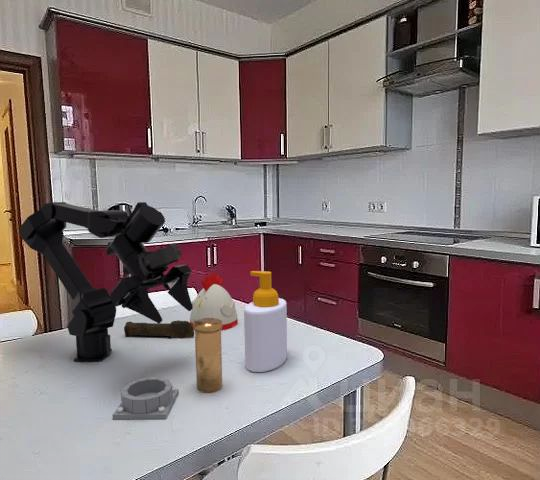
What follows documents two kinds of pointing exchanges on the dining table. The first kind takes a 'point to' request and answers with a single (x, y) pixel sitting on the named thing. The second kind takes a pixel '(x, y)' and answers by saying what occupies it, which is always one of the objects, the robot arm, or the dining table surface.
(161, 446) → the dining table surface
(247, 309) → the soap bottle
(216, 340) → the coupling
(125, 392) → the socket
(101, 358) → the robot arm
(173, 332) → the hand tool
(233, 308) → the kitchen timer
